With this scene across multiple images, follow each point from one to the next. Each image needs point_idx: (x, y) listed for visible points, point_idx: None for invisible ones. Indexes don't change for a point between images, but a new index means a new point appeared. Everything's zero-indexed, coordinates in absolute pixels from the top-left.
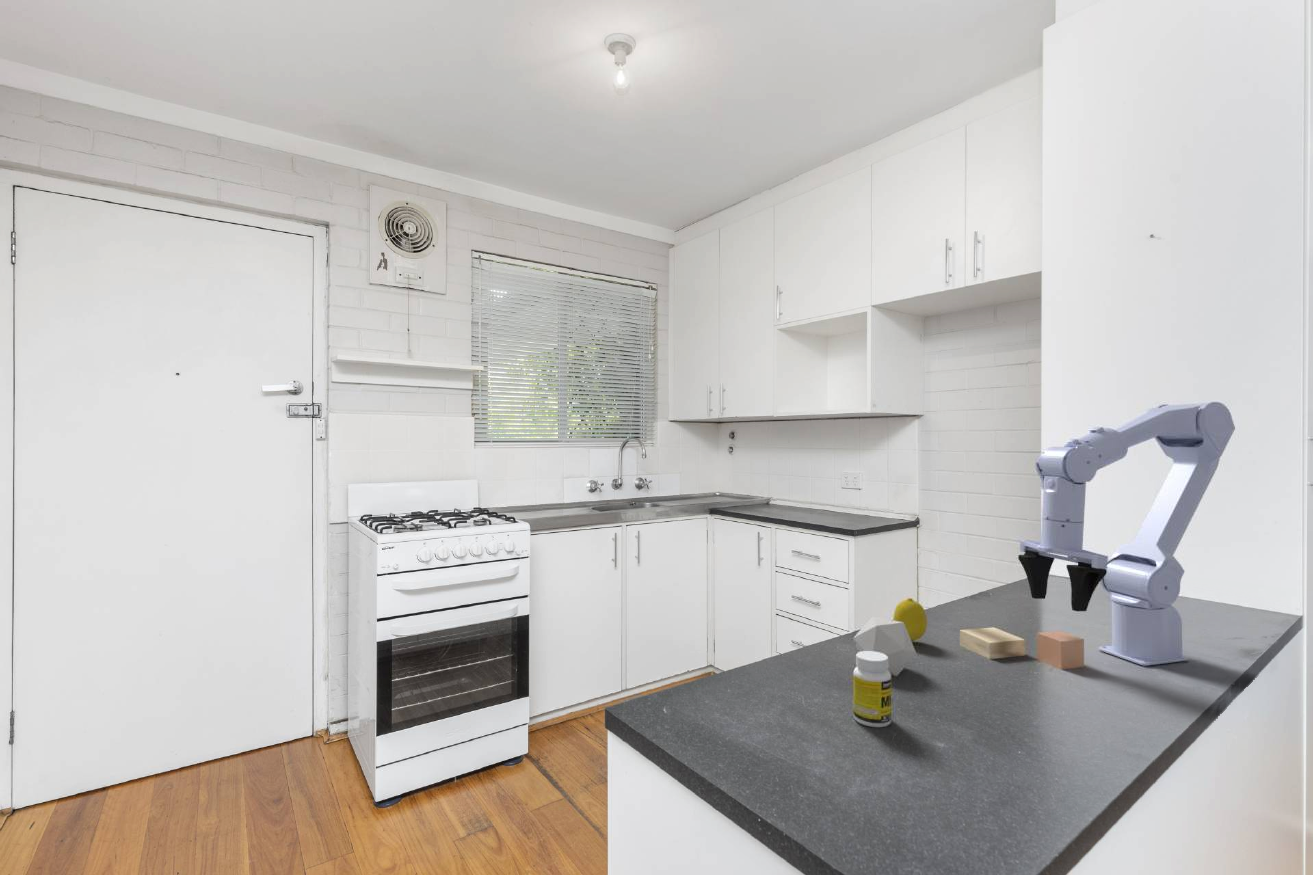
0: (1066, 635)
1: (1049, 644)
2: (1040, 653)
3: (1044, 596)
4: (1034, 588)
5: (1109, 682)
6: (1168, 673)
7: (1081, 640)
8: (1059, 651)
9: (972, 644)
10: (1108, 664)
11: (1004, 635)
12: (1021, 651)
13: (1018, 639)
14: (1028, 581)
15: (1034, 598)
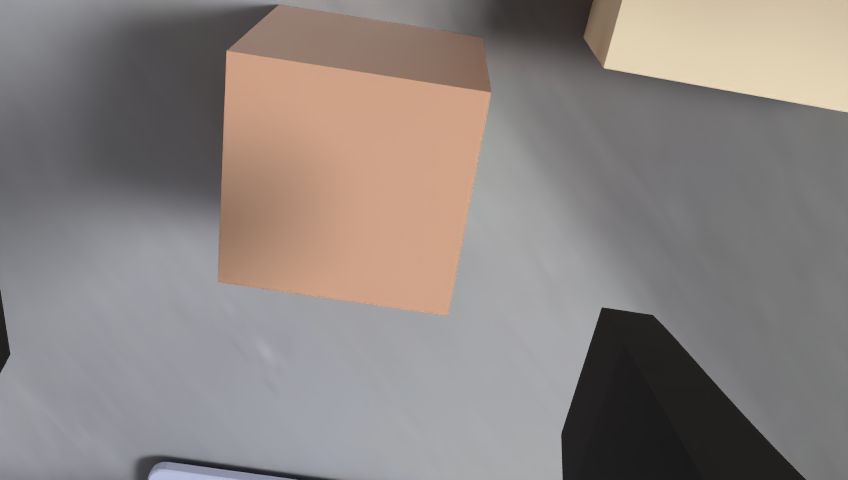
0: (337, 251)
1: (360, 55)
2: (455, 45)
3: (564, 447)
4: (638, 395)
5: (7, 67)
6: (56, 467)
7: (221, 256)
8: (265, 33)
9: None
10: (246, 346)
11: (770, 3)
12: (597, 13)
13: (634, 18)
14: (780, 455)
15: (612, 309)
